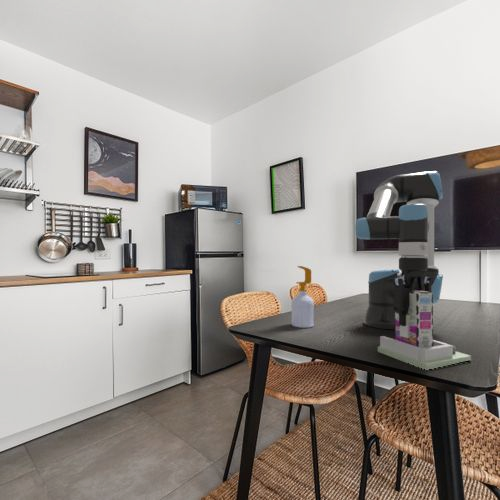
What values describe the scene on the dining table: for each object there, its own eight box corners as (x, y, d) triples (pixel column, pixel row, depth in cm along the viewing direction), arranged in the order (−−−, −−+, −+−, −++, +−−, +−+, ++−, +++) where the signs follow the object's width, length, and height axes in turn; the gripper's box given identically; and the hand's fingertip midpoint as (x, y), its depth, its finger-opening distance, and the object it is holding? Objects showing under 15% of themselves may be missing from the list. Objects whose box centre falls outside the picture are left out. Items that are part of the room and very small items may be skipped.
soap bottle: (287, 324, 127) (287, 265, 127) (305, 322, 131) (305, 265, 131) (299, 329, 119) (299, 266, 119) (318, 326, 122) (318, 266, 123)
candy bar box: (434, 351, 83) (434, 292, 83) (417, 352, 83) (417, 292, 83) (409, 339, 94) (409, 287, 95) (394, 340, 94) (393, 287, 94)
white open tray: (419, 345, 99) (419, 331, 99) (471, 361, 84) (471, 345, 84) (377, 351, 92) (377, 336, 92) (426, 370, 77) (426, 352, 77)
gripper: (400, 257, 82) (400, 342, 82) (447, 257, 89) (447, 335, 89) (378, 256, 89) (378, 335, 89) (423, 256, 96) (423, 329, 96)
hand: (412, 335), depth 89 cm, fingers closed on candy bar box, 6 cm apart
